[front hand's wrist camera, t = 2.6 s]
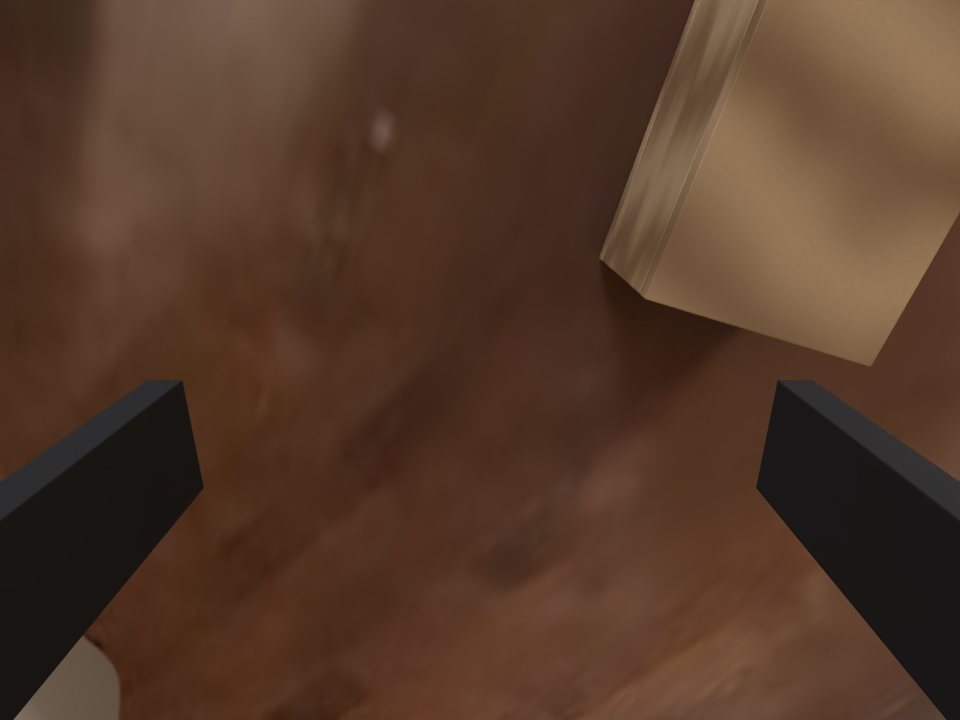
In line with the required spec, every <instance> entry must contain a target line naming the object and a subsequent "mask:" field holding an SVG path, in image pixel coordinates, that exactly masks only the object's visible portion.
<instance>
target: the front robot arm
mask: <svg viewBox="0 0 960 720" xmlns="http://www.w3.org/2000/svg"><path fill="white" fill-rule="evenodd" d="M203 488H204V487H203V482H202V477H201V472H200V467H199V462H198V457H197V452H196V447H195V442H194V437H193V432H192V427H191V422H190V417H189V412H188V407H187V402H186V397H185V392H184V387H183V382H182V380H147V381H146V382H145V383H143V384H142V385H140V386H139V387H137V388H136V389H134V390H133V391H131V392H130V393H129V394H127V395H126V396H124V397H123V398H121V399H120V400H118V401H117V402H116V403H114V404H113V405H111V406H110V407H108V408H107V409H105V410H104V411H103V412H101V413H100V414H98V415H97V416H95V417H94V418H92V419H91V420H89V421H88V422H87V423H85V424H84V425H82V426H81V427H79V428H78V429H76V430H75V431H74V432H72V433H71V434H69V435H68V436H66V437H65V438H63V439H62V440H60V441H59V442H58V443H56V444H55V445H53V446H52V447H50V448H49V449H47V450H46V451H45V452H43V453H42V454H40V455H39V456H37V457H36V458H34V459H33V460H31V461H30V462H29V463H27V464H26V465H24V466H23V467H21V468H20V469H18V470H17V471H16V472H14V473H13V474H11V475H10V476H8V477H7V478H5V479H4V480H2V481H1V482H0V720H14V718H15V717H16V716H17V715H18V713H19V712H20V711H21V710H22V709H23V707H24V706H25V705H26V704H27V703H28V701H29V700H30V699H31V698H32V696H33V695H34V694H35V693H36V692H37V690H38V689H39V688H40V687H41V685H42V684H43V683H44V682H45V681H46V679H47V678H48V677H49V676H50V674H51V673H52V672H53V671H54V670H55V668H56V667H57V666H58V665H59V663H60V662H61V661H62V660H63V659H64V657H65V656H66V655H67V654H68V653H69V651H70V650H71V649H72V648H73V646H74V645H75V644H76V643H77V642H78V640H79V639H80V638H81V637H82V635H83V634H84V633H85V632H86V631H87V629H88V628H89V627H90V626H91V625H92V623H93V622H94V621H95V620H96V618H97V617H98V616H99V615H100V614H101V612H102V611H103V610H104V609H105V607H106V606H107V605H108V604H109V603H110V601H111V600H112V599H113V598H114V596H115V595H116V594H117V593H118V592H119V590H120V589H121V588H122V587H123V586H124V584H125V583H126V582H127V581H128V579H129V578H130V577H131V576H132V575H133V573H134V572H135V571H136V570H137V568H138V567H139V566H140V565H141V564H142V562H143V561H144V560H145V559H146V558H147V556H148V555H149V554H150V553H151V551H152V550H153V549H154V548H155V547H156V545H157V544H158V543H159V542H160V540H161V539H162V538H163V537H164V536H165V534H166V533H167V532H168V531H169V529H170V528H171V527H172V526H173V525H174V523H175V522H176V521H177V520H178V519H179V517H180V516H181V515H182V514H183V512H184V511H185V510H186V509H187V508H188V506H189V505H190V504H191V503H192V501H193V500H194V499H195V498H196V497H197V495H198V494H199V493H200V492H201V490H202V489H203ZM756 488H757V489H758V490H759V492H760V493H761V494H762V495H763V497H764V498H765V499H766V500H767V501H768V503H769V504H770V505H771V506H772V508H773V509H774V510H775V511H776V512H777V514H778V515H779V516H780V517H781V519H782V520H783V521H784V522H785V523H786V525H787V526H788V527H789V528H790V529H791V531H792V532H793V533H794V534H795V536H796V537H797V538H798V539H799V540H800V542H801V543H802V544H803V545H804V547H805V548H806V549H807V550H808V551H809V553H810V554H811V555H812V556H813V558H814V559H815V560H816V561H817V562H818V564H819V565H820V566H821V567H822V568H823V570H824V571H825V572H826V573H827V575H828V576H829V577H830V578H831V579H832V581H833V582H834V583H835V584H836V586H837V587H838V588H839V589H840V590H841V592H842V593H843V594H844V595H845V597H846V598H847V599H848V600H849V601H850V603H851V604H852V605H853V606H854V607H855V609H856V610H857V611H858V612H859V614H860V615H861V616H862V617H863V618H864V620H865V621H866V622H867V623H868V625H869V626H870V627H871V628H872V629H873V631H874V632H875V633H876V634H877V635H878V637H879V638H880V639H881V640H882V642H883V643H884V644H885V645H886V646H887V648H888V649H889V650H890V651H891V653H892V654H893V655H894V656H895V657H896V659H897V660H898V661H899V662H900V664H901V665H902V666H903V667H904V668H905V670H906V671H907V672H908V673H909V674H910V676H911V677H912V678H913V679H914V681H915V682H916V683H917V684H918V685H919V687H920V688H921V689H922V690H923V692H924V693H925V694H926V695H927V696H928V698H929V699H930V700H931V701H932V703H933V704H934V705H935V706H936V707H937V709H938V710H939V711H940V712H941V713H942V715H943V716H944V717H945V718H946V720H960V482H959V481H958V480H956V479H955V478H953V477H952V476H950V475H949V474H947V473H946V472H944V471H943V470H942V469H940V468H939V467H937V466H936V465H934V464H933V463H931V462H930V461H929V460H927V459H926V458H924V457H923V456H921V455H920V454H918V453H917V452H915V451H914V450H913V449H911V448H910V447H908V446H907V445H905V444H904V443H902V442H901V441H900V440H898V439H897V438H895V437H894V436H892V435H891V434H889V433H888V432H886V431H885V430H884V429H882V428H881V427H879V426H878V425H876V424H875V423H873V422H872V421H871V420H869V419H868V418H866V417H865V416H863V415H862V414H860V413H859V412H857V411H856V410H855V409H853V408H852V407H850V406H849V405H847V404H846V403H844V402H843V401H842V400H840V399H839V398H837V397H836V396H834V395H833V394H831V393H830V392H829V391H827V390H826V389H824V388H823V387H821V386H820V385H818V384H817V383H815V382H814V381H813V380H778V382H777V387H776V392H775V397H774V402H773V407H772V412H771V417H770V422H769V427H768V432H767V437H766V442H765V447H764V452H763V457H762V462H761V467H760V472H759V477H758V482H757V487H756Z"/></svg>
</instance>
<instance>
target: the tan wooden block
mask: <svg viewBox="0 0 960 720" xmlns="http://www.w3.org/2000/svg"><path fill="white" fill-rule="evenodd" d="M959 213H960V0H695V1H694V4H693V7H692V9H691V12H690V15H689V17H688V20H687V23H686V25H685V28H684V31H683V33H682V36H681V39H680V41H679V44H678V47H677V50H676V52H675V55H674V58H673V60H672V63H671V66H670V68H669V71H668V74H667V76H666V79H665V82H664V84H663V87H662V90H661V92H660V95H659V98H658V100H657V103H656V106H655V109H654V111H653V114H652V117H651V119H650V122H649V125H648V127H647V130H646V133H645V135H644V138H643V141H642V143H641V146H640V149H639V151H638V154H637V157H636V160H635V162H634V165H633V168H632V170H631V173H630V176H629V178H628V181H627V184H626V186H625V189H624V192H623V194H622V197H621V200H620V202H619V205H618V208H617V210H616V213H615V216H614V219H613V221H612V224H611V227H610V229H609V232H608V235H607V237H606V240H605V243H604V245H603V248H602V251H601V253H600V256H599V259H600V260H602V261H603V262H604V263H605V264H606V265H607V266H609V267H610V268H611V269H612V270H613V271H614V272H615V273H617V274H618V275H619V276H620V277H621V278H622V279H623V280H625V281H626V282H627V283H628V284H629V285H630V286H631V287H633V288H634V289H635V290H636V291H637V292H638V293H639V294H640V295H641V296H642V297H644V298H645V299H646V300H650V301H653V302H656V303H659V304H663V305H666V306H669V307H673V308H676V309H679V310H683V311H686V312H689V313H693V314H696V315H699V316H702V317H706V318H709V319H712V320H716V321H719V322H722V323H726V324H729V325H732V326H736V327H739V328H742V329H746V330H749V331H752V332H755V333H759V334H762V335H765V336H769V337H772V338H775V339H779V340H782V341H785V342H789V343H792V344H795V345H798V346H802V347H805V348H808V349H812V350H815V351H818V352H822V353H825V354H828V355H832V356H835V357H838V358H841V359H845V360H848V361H851V362H855V363H858V364H861V365H865V366H868V367H871V365H872V363H873V362H874V360H875V358H876V357H877V355H878V353H879V351H880V350H881V348H882V346H883V344H884V343H885V341H886V339H887V338H888V336H889V334H890V332H891V331H892V329H893V327H894V325H895V324H896V322H897V320H898V319H899V317H900V315H901V313H902V312H903V310H904V308H905V306H906V305H907V303H908V301H909V299H910V298H911V296H912V294H913V293H914V291H915V289H916V287H917V286H918V284H919V282H920V280H921V279H922V277H923V275H924V274H925V272H926V270H927V268H928V267H929V265H930V263H931V261H932V260H933V258H934V256H935V254H936V253H937V251H938V249H939V248H940V246H941V244H942V242H943V241H944V239H945V237H946V235H947V234H948V232H949V230H950V229H951V227H952V225H953V223H954V222H955V220H956V218H957V216H958V215H959Z"/></svg>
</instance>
